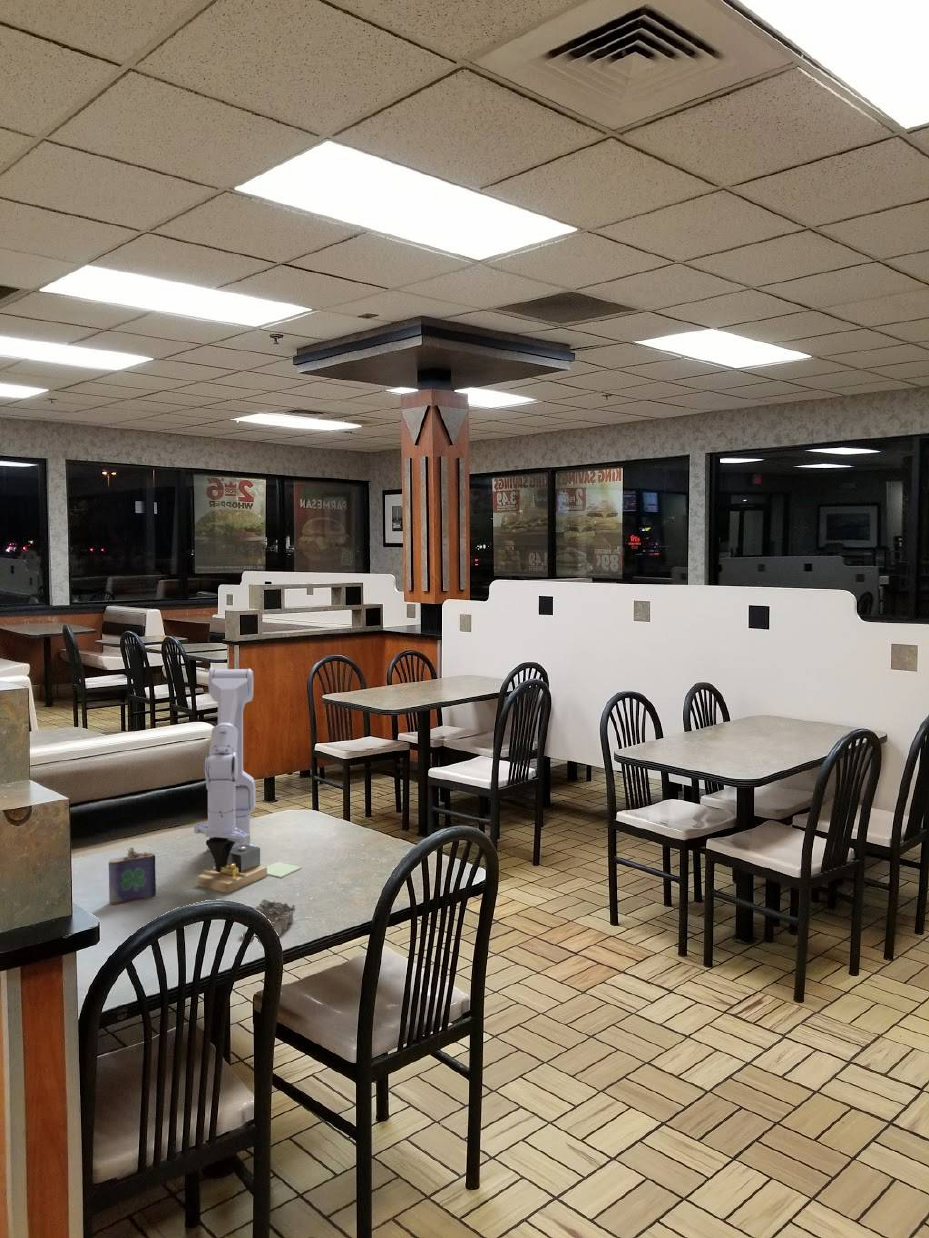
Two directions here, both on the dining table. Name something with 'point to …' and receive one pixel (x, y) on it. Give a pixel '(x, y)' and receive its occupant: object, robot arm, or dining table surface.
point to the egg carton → (277, 914)
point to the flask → (132, 877)
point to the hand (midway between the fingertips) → (221, 870)
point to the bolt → (229, 870)
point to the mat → (281, 869)
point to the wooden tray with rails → (230, 879)
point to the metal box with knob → (244, 857)
